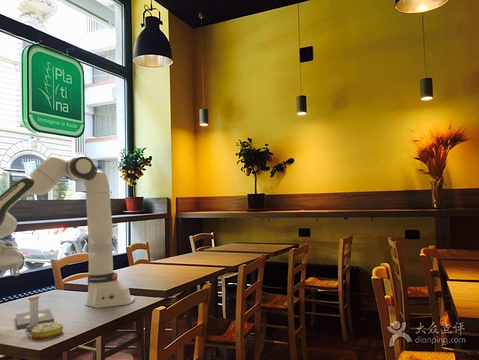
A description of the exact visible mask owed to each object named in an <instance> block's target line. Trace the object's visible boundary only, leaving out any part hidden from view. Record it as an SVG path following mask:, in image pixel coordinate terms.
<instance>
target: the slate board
mask: <svg viewBox="0 0 479 360" xmlns="http://www.w3.org/2000/svg"><path fill="white" fill-rule="evenodd" d="M15 321H16V322H15V323H16V329H17V330H20V329H26V326H29V325H30V311H29V312H22V313H16V314H15ZM49 322H55V318H54V316H53V314H52V312H51V310H50V308H47V309H42V310H38V324H43V323H49Z"/></svg>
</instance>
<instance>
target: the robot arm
mask: <svg viewBox="0 0 479 360" xmlns="http://www.w3.org/2000/svg"><path fill="white" fill-rule="evenodd" d="M63 178H65V179H67V180H69V181H73V182H75V181H76V182H77V181H82V182H83V184H84V188H85V200H86V201H85V203H86V216H87V218H86V219H87V220H86V221H87V237H88V238H87V241H88V242H87V244H88V246H87V247H88V273H87V287H88V289H87V290H88V291H87V296H86V301H85V306H88V307H92V308H94V309H98V308H107V307H115V306H117V307H118V306H123V305H126V306H127V305H130V304H131V303H133V302H134V301H135V296H134V295H131V294H130V289H129V286H127V285H126V284H124V283H123V282H121V280H119V279H118V272H115V271H114V259H113V258H114V257H113V256H114V255H113V237H114V230H113V217H112V206H111V193H110V192H111V191H110V190H111V189H110V183H109V178H108V176H107V174H106V172H104V171H102V170H98V169H97V167H96V165H95V163H94V162H93V160H92V159H91V158H90V157H89V156H86V155H77V156H73V157H72V158H70V159H68V160H64V158H62V157H60V156H57V155H51V156H49V157H47V158H45V160H43V161H42V162H41V163H40V164H39V165H38V166H37V167H36V168H35V169H34V170H33V171H31V173H30V174H28V175H26V176H25V177H22V178H20V179H19V180H17V181H16V182H15V183H13V184H12V185H11V186H10V187H8V189H6V190H5V191H4V192H2V194H0V271H3V270H10V269H12V270H13V273H12V275H13V276H14V277H17V276H20V274H21V272H20V267H21V266H22V265H23V264H24V258H23V256H22V254H21V253H20V252H19V251H18V250H17V249H16V247H15V244H13V243H10V242H6V241H2V240H1V239H5V237H8V236H10V235H11V234H13V233H14V232H15V231H16V229H17V228H18V221H17V218H16V217H14V215H12V214H11V213H9V210H10V209H11V208H12V207H13V206H14V205H15V204H16V203H18V201H19V200H22V198H23V197H25V196H28V195H34V196H43V195H46V194H48V193H49V192H50V191H52V190H53V189H54V188H55V186H56V185H57V184H59V182H60V181H61V180H62V179H63Z"/></svg>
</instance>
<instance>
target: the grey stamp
mask: <svg viewBox="0 0 479 360" xmlns="http://www.w3.org/2000/svg"><path fill="white" fill-rule="evenodd" d="M39 299H40V295H33V296H30V297H28V301H29V312H30V325H29V326H26V328H25V331H26V332H32V331H31V330H32V329H33V328H34V327H35V326H37V325H39V324H38V311H39Z"/></svg>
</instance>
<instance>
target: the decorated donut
mask: <svg viewBox="0 0 479 360" xmlns="http://www.w3.org/2000/svg"><path fill="white" fill-rule="evenodd" d="M63 329H64V324H63V323H62V322H57V321H54V322H49V323H43V324H39V325H37V326H35V327H34V328H33V329H32V330H31V331H30V332H31V335H32V337H33V338H34V339H39V340H42V339H51V338H55V337H56V336H57V337H58V335H60V334H61V333H62V332H63Z"/></svg>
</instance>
